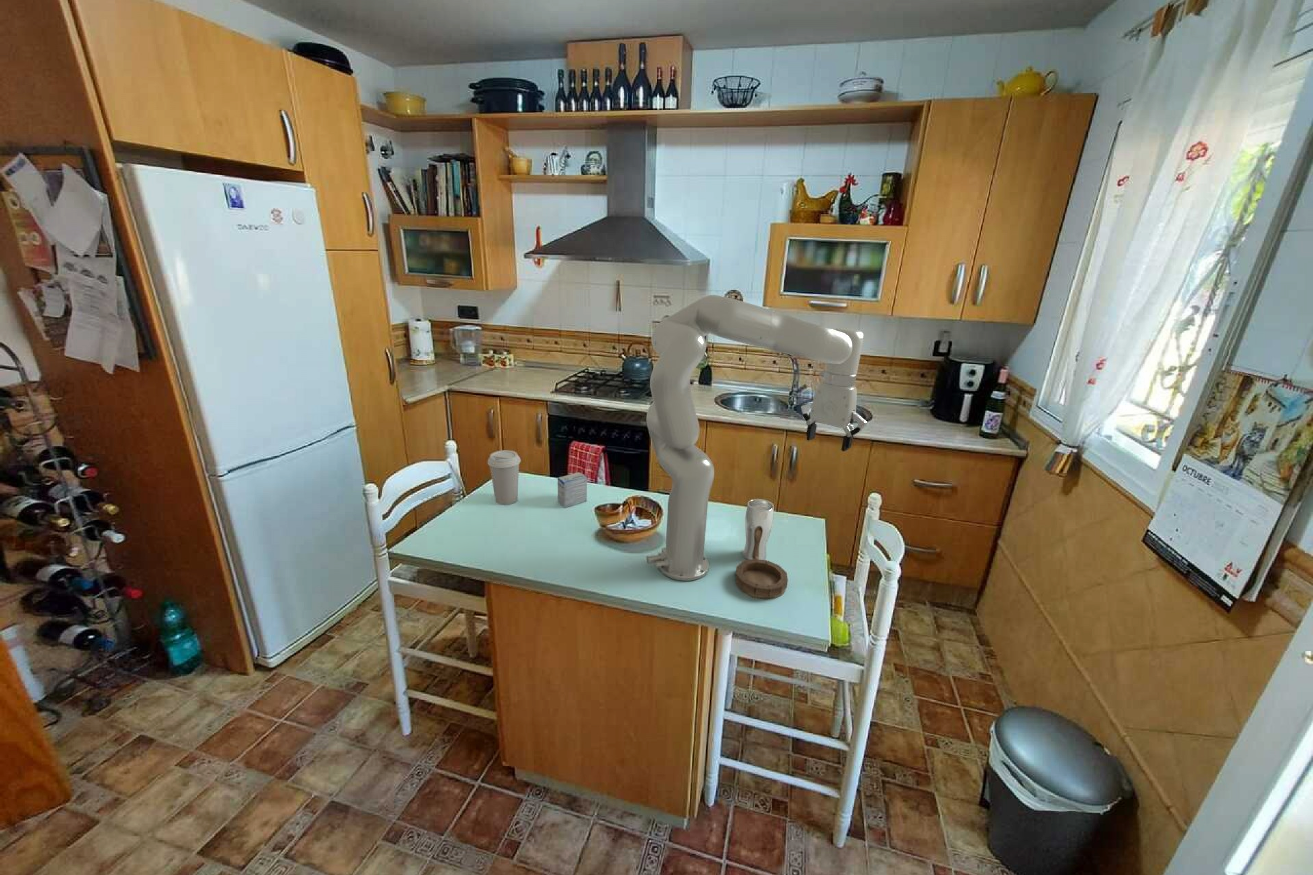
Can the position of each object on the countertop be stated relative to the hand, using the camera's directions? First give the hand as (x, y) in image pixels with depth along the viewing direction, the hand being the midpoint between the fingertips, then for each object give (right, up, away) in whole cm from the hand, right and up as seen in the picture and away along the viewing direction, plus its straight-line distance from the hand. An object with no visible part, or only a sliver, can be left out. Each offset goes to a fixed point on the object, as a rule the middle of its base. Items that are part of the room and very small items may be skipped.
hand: (827, 444), depth 133 cm
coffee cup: (-90, -18, +26) cm, 96 cm away
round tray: (-19, -33, -9) cm, 39 cm away
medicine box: (-70, -19, +27) cm, 77 cm away
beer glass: (-18, -30, +3) cm, 35 cm away
